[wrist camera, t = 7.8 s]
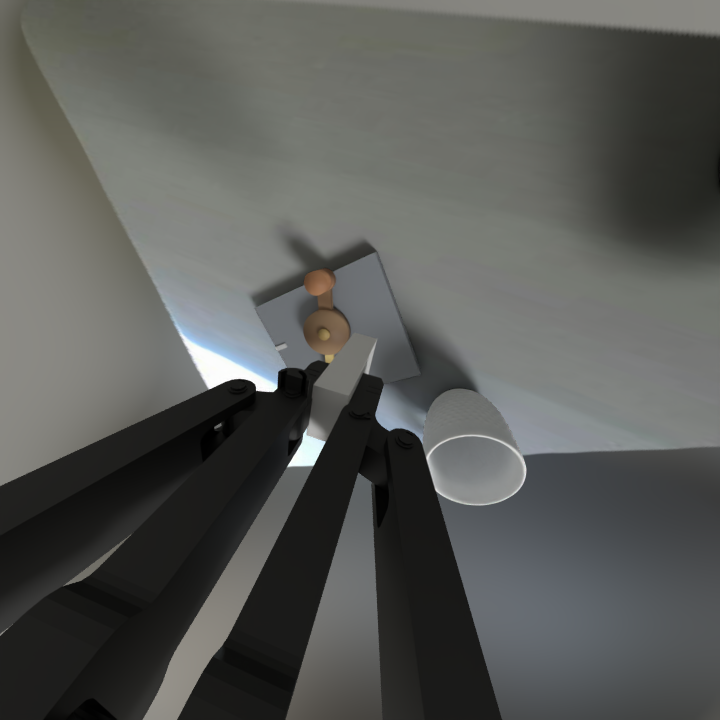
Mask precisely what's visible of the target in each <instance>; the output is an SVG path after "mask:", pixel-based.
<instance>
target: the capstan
mask: <svg viewBox="0 0 720 720" xmlns="http://www.w3.org/2000/svg"><path fill="white" fill-rule="evenodd" d="M335 283H336V277H335V274H334V273H333V272H332V271H331V270H330V269H327V268H323V269H320V270H316V271H312V272H309V273H308V274H307V275H306V276H305V279H304V286H305V289H306V290H307V291H308V292H309V293H310V294H312V295H315V296H317V297H318V308H319V310H317V311H315V312H314V313H312V314H311V315H310V316H309V317H308V318H307V319H306V321H305V323H304V327H303V333H304V337H305V340H306V342H307V343H308V345H309V346H310V347H311V348H312V349H313V350H314V351H316V352H318V353H320V354H324V355H325V361H326V363H331V362H332V360H333V359H334V358H335V356H334V354H336V353H338V352H339V351H340V350H341V349H342V347H343V346H344V345H345V344H346V342H347V341H348V340H349V338H350V335H351V328H350V324H349V321H348V319H347V318H346V317H345V316H344V314H342V313H341V312H340V311H338V310H336V309H334V308H333V293H332V288H333V287H334V286H335Z"/></svg>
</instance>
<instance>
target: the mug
mask: <svg viewBox="0 0 720 720" xmlns="http://www.w3.org/2000/svg"><path fill="white" fill-rule="evenodd" d="M423 449H424V452H425V456H426V459H427V463H428V466H429V469H430V473H431V476H432V480H433V483H434V487H435V490H436V491H437V492H438V493H439V494H441V495H442V496H444V497H446V498H447V499H450V500H452V501H455V502H458V503H462V504H468V505H488V504H493V503H497V502H500V501H503V500H505V499H507V498H508V497H510V496H512V495H513V494H515V493H516V492H517V491H518V490H519V489H520V488H521V486H522V484H523V483H524V480H525V477H526V465H525V461H524V458H523V456H522V454H521V452H520V450H519V447H518V445H517V442H516V440H515V438H514V437H513V434H512V432H511V430H510V429H509V426H508V424H507V423H506V421H505V419H504V418H503V417H502V415H501V413H500V412H499V411H498V410H497V408H496V407H495V406H494V405H493V404H492V403H491V402H490V401H488V399H487V398H485V397H483V396H482V395H480V394H479V393H477V392H474V391H472V390H468V389H452V390H448V391H446V392H444V393H442V394H441V395H439V396H438V397H437V398H436V399H435V400H434V402H433V403H432V405H431V406H430V409H429V410H428V414H427V416H426V420H425V425H424V431H423Z"/></svg>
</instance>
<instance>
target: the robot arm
mask: <svg viewBox="0 0 720 720" xmlns="http://www.w3.org/2000/svg"><path fill="white" fill-rule="evenodd" d="M719 181H720V162H719ZM376 342H377V339H376V338H372V337H369V336H365V335H361V334H358V333H353V335H352V336H351V337H350V339H349V340H348V341H347V342H346V344H345V345H344V346H343V347H342V349H341V350H340V351H339V353H338V354H337V355H336V356H335V358H334V359H333V360H332V362H331V363H326V362H323V361H320V360H317V361H315V362H312V363H310V364H309V365H308V367H307V368H306V369H305V370H302V369H299V368H285V369H282V370H280V371H279V372H278V388H277V389H276V390H275V391H274V392H261V391H256V386H255V384H254V383H253V382H251V381H248V380H244V379H235V380H230V381H227V382H225V383H223V384H220V385H218V386H216V387H214V388H212V389H210V390H207V391H205V392H203V393H201V394H199V395H197V396H195V397H192V398H190V399H188V400H186V401H184V402H181V403H179V404H177V405H175V406H173V407H171V408H169V409H166V410H164V411H162V412H160V413H158V414H156V415H153V416H151V417H149V418H147V419H145V420H143V421H141V422H138V423H136V424H134V425H132V426H129V427H127V428H125V429H123V430H121V431H119V432H116V433H114V434H112V435H110V436H108V437H106V438H103V439H101V440H99V441H97V442H95V443H93V444H90V445H88V446H86V447H84V448H82V449H80V450H77V451H75V452H73V453H71V454H69V455H67V456H65V457H62V458H60V459H58V460H56V461H54V462H52V463H49V464H47V465H45V466H43V467H41V468H39V469H36V470H34V471H32V472H30V473H28V474H26V475H23V476H21V477H19V478H17V479H15V480H13V481H11V482H8V483H6V484H4V485H2V486H0V633H1V632H3V631H4V630H6V629H7V628H8V627H9V626H11V625H12V624H13V623H14V624H13V625H12V626H11V627H9V628H8V630H6V631H5V632H4V633H3V634H2V635H1V636H0V720H142V719H143V718H144V716H145V714H146V713H147V711H148V709H149V707H150V705H151V704H152V702H153V700H154V698H155V696H156V694H157V693H158V690H159V688H160V686H161V684H162V682H163V679H164V677H165V674H166V671H167V668H168V665H169V662H170V660H171V658H172V656H173V654H174V652H175V650H176V649H177V647H178V645H179V644H180V642H181V640H182V639H183V637H184V635H185V634H186V632H187V630H188V629H189V627H190V625H191V624H192V622H193V621H194V619H195V617H196V616H197V614H198V612H199V611H200V609H201V607H202V606H203V604H204V602H205V601H206V599H207V598H208V596H209V594H210V593H211V591H212V589H213V588H214V586H215V584H216V583H217V581H218V579H219V578H220V576H221V574H222V573H223V571H224V570H225V568H226V566H227V564H228V563H229V561H230V560H231V558H232V556H233V555H234V553H235V551H236V550H237V548H238V547H239V545H240V543H241V542H242V540H243V538H244V537H245V535H246V533H247V532H248V530H249V529H250V527H251V525H252V524H253V522H254V520H255V519H256V517H257V515H258V514H259V512H260V510H261V509H262V507H263V506H264V504H265V502H266V501H267V499H268V497H269V495H270V494H271V492H272V491H273V489H274V487H275V486H276V484H277V483H278V481H279V479H280V478H281V476H282V474H283V473H284V471H285V469H286V468H287V466H288V464H289V463H290V461H291V460H292V458H293V456H294V455H295V453H296V451H297V450H298V448H299V446H300V445H301V443H302V439H303V433H304V432H305V430H306V428H307V427H308V428H307V435H308V436H311V437H314V438H317V439H320V440H323V441H326V443H325V445H324V447H323V449H322V451H321V453H320V455H319V457H318V459H317V461H316V463H315V465H314V467H313V469H312V471H311V473H310V475H309V477H308V479H307V481H306V483H305V485H304V487H303V489H302V491H301V493H300V495H299V497H298V499H297V501H296V503H295V505H294V507H293V509H292V511H291V513H290V515H289V517H288V519H287V521H286V523H285V525H284V527H283V529H282V531H281V532H280V534H279V536H278V539H277V540H276V543H275V545H274V547H273V549H272V550H271V552H270V555H269V556H268V558H267V560H266V562H265V564H264V567H263V568H262V571H261V572H260V574H259V577H258V578H257V580H256V583H255V585H254V586H253V588H252V591H251V592H250V595H249V596H248V599H247V601H246V602H245V605H244V606H243V609H242V610H241V613H240V614H239V617H238V618H237V620H236V623H235V624H234V626H233V629H232V630H231V632H230V634H229V636H228V638H227V639H226V641H225V642H224V644H223V646H222V647H221V648H220V649H219V650H218V651H217V652H216V654H215V655H214V656H213V657H212V658H211V660H210V662H209V663H208V665H207V666H206V668H205V669H204V671H203V673H202V674H201V676H200V678H199V680H198V682H197V684H196V685H195V687H194V689H193V691H192V693H191V694H190V696H189V698H188V700H187V702H186V704H185V706H184V708H183V710H182V712H181V714H180V716H179V717H178V719H177V720H285V719H286V716H287V712H288V709H289V706H290V702H291V699H292V696H293V692H294V689H295V685H296V682H297V679H298V675H299V672H300V668H301V665H302V661H303V658H304V655H305V651H306V648H307V645H308V641H309V638H310V634H311V631H312V627H313V624H314V621H315V617H316V613H317V611H318V607H319V604H320V600H321V597H322V594H323V590H324V587H325V583H326V580H327V576H328V573H329V569H330V566H331V563H332V560H333V556H334V553H335V549H336V546H337V543H338V539H339V536H340V532H341V529H342V526H343V522H344V519H345V515H346V512H347V509H348V505H349V502H350V498H351V495H352V492H353V488H354V485H355V481H356V478H357V475H358V473H360V474H361V475H362V476H364V477H365V478H367V479H368V480H370V481H371V482H372V485H371V486H372V505H373V506H372V507H373V526H374V548H375V567H376V568H375V569H376V590H377V609H378V610H377V611H378V632H379V652H380V673H381V693H382V715H383V720H502V719H501V715H500V712H499V708H498V704H497V702H496V698H495V694H494V691H493V687H492V684H491V680H490V677H489V673H488V670H487V666H486V663H485V660H484V656H483V653H482V649H481V646H480V642H479V639H478V635H477V632H476V628H475V626H474V622H473V618H472V615H471V611H470V608H469V604H468V601H467V597H466V594H465V590H464V587H463V583H462V580H461V577H460V573H459V570H458V566H457V563H456V560H455V556H454V552H453V549H452V546H451V542H450V539H449V535H448V532H447V528H446V525H445V521H444V518H443V514H442V511H441V508H440V504H439V501H438V497H437V494H436V490H435V487H434V483H433V480H432V476H431V473H430V469H429V466H428V463H427V459H426V456H425V452H424V449H423V445H422V443H421V441H420V439H419V438H418V437H417V436H416V435H415V434H414V433H412V432H410V431H409V430H405V429H398V428H396V429H393V430H391V431H388V430H386V429H385V428H383V427H382V426H381V425H380V424H379V423H378V421H377V420H376V417H375V413H376V410H377V406H378V403H379V399H380V396H381V392H382V389H383V385H384V383H383V381H382V378H379V377H376V376H373V375H369V374H368V373H369V369H370V365H371V362H372V358H373V354H374V350H375V346H376ZM220 423H221V424H222V426H221V427H219V428H217V429H214V427H215V426H216V425H218V424H220ZM133 532H134V533H133ZM132 533H133V534H132ZM130 534H132V535H131V536H130V537H129V538H128V539H127V540H126V541H125V542H124V543H123V544H122V545H121V546H120V547H119V548H118V549H117V550H116V551H115V552H114V553H113V554H112V555H111V556H110V557H109V558H108V559H107V560H106V561H105V562H104V563H103V564H102V565H101V566H100V567H99V568H98V569H97V570H95V571H94V572H93V573H92V574H91V575H90V576H88V577H86V578H85V579H83V580H82V581H79V582H76V583H72V584H69V585H66V586H63V585H65V584H66V583H67V582H69V581H70V580H71V579H73V578H74V577H75V576H77V575H78V574H79V573H81V572H82V571H83V570H85V569H86V568H87V567H89V566H90V565H91V564H92V563H94V562H95V561H96V560H98V559H99V558H100V557H102V556H103V555H104V554H106V553H107V552H108V551H110V550H111V549H112V548H113V547H115V546H116V545H117V544H119V543H120V542H121V541H123V540H124V539H125V538H127V537H128V536H129V535H130Z"/></svg>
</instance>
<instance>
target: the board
mask: <svg viewBox="0 0 720 720" xmlns="http://www.w3.org/2000/svg"><path fill="white" fill-rule="evenodd" d="M333 273H334V274H335V277H336V283H335V286H334V287H333V288H332V293H333V308H334V309H336V310H338V311H340V312H341V313H342V314H344V316H345V317H346V318H347V319H348V321H349V324H350V328H351V335H350V337H351V336H352V335H353V333H358V334H361V335H365V336H369V337H372V338H376V339H377V342H376V346H375V350H374V354H373V358H372V362H371V365H370V369H369V373H368V374H369V375H373V376H376V377H379V378H382V381H383V383H384V384H388V383H391V382H395V381H399V380H403V379H407V378H411V377H414V376H418V375H420V366H419V363H418V361H417V358H416V355H415V352H414V350H413V347H412V344H411V342H410V339H409V336H408V333H407V331H406V328H405V325H404V323H403V320H402V317H401V314H400V312H399V309H398V306H397V303H396V301H395V298H394V295H393V293H392V290H391V287H390V284H389V282H388V279H387V276H386V273H385V271H384V268H383V265H382V263H381V260H380V257H379V254H378V252H374V253H372V254H370V255H368V256H366V257H363V258H361V259H359V260H357V261H355V262H353V263H350V264H348V265H346V266H344V267H342V268H340V269H337V270H335V271H333ZM254 309H255V310H256V312H257V314H258V316H259V318H260V319H261V321H262V323H263V325H264V327H265V328H266V330H267V332H268V334H269V335H270V337H271V339H272V341H273V343H274V344H275V346H276V347H275V348H276V350H277V351H278V352H279V353H280V355H281V357H282V359H283V361H284V362H285V364H286V366H287V368H299V369H302V370H305V369H306V368H307V367H308V365H309V364H310V363H312V362H315V361H317V360H320V361H323V362H326V361H325V355H324V354H320V353H318V352H316V351H314V350H313V349H312V348H311V347H310V346H309V345H308V343H307V342H306V340H305V337H304V333H303V327H304V323H305V321H306V319H307V318H308V317H309V316H310V315H311V314H312V313H314V312H315V311H317V310H319V308H318V297H317V296H315V295H312V294H310V293H309V292H308V291H307V290H306V289H305V286H304V285H303V286H301V287H299V288H296V289H294V290H292V291H290V292H288V293H286V294H283V295H281V296H279V297H277V298H275V299H273V300H271V301H268V302H266V303H264V304H262V305H260V306H258V307H255V308H254ZM349 339H350V338H349ZM338 353H339V352H338ZM338 353H336V354H334V356H336V355H337V354H338Z"/></svg>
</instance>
